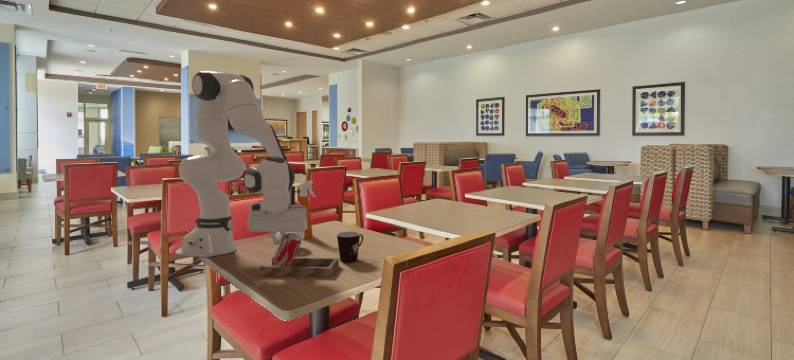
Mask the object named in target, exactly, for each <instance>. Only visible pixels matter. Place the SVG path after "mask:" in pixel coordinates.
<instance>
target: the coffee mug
mask: <svg viewBox="0 0 794 360" xmlns="http://www.w3.org/2000/svg"><path fill="white" fill-rule="evenodd" d="M360 237H361V238H360ZM336 238H337V246H338V254H339V255H338V256H339V261H340V262H341V263H344V264H351V263H355V262H357V261H359V259H358V257H359V249H360V246H362V244H363V240H364V235H363V234H362V233H360V232H359V231H353V230H352V231H350V230H349V231H341V232H338V233H336ZM360 239H361V241H360Z"/></svg>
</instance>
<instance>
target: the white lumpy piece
mask: <svg viewBox="0 0 794 360" xmlns="http://www.w3.org/2000/svg"><path fill="white" fill-rule="evenodd" d="M288 233H293V234H296V235H298V236H299V237H300V238H301V243H302V242H303V241H304V239H305V238H304V232H286V235H287V234H288ZM275 236H276V238H277V239H280V238H281V236H282V235H280V232H276V234H275ZM274 246H275V249H276V251H277V250H278V248H279V246H280V245H274Z"/></svg>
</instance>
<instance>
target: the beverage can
mask: <svg viewBox="0 0 794 360" xmlns="http://www.w3.org/2000/svg"><path fill="white" fill-rule="evenodd" d="M301 245H302V242H301V238H300V237H299V236H298V235H296V234H293V233H288V234H287V235H285V236H284V238H283V240H282V242H281V244H280V246H279V248H278V250H277V249H276V252H275V253H274V256H272V257H273V259H272V258H271V264H272V263H273V265H274V266H290V264H291V262H292V260H293V258H294V257H296V255H297V253H298V251H299V250H300V246H301Z"/></svg>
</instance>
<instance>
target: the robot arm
mask: <svg viewBox="0 0 794 360" xmlns="http://www.w3.org/2000/svg"><path fill="white" fill-rule="evenodd" d="M191 88H192V92H193V94H194V96H195V97H196V98H197V99H198V103H197V110H196V111H197V112H196V125H197V127H196V133H197V136H196V137H197V139H198V141H199V142H200V143H201V144H202V145H205V146H207V147H208V149H209V151H210V154H205V155H204V154H203V155H193V156H189V157H186V158H183V159H182V160H181V161H180V163H179V166H178V174H179V177H180V178H181V179H182V181H183V182H184V183H186V184H188V185H189V187H191V188H192V189H193V190H194V192H195V194H196V195H197V199H198V204H199V213H200V214H199V215H200V217H198V218H197V219H195V220H194V224H196V227H195V228H193V229H192V230H191V231H190V232H188V233H187V234H185V236H184V237H183V238H182V241H181V247H180V248H178V249H177V250H176V251H175V255H176V256H183V257H185V256H186V257H198V258H210V257H215V256H220V255H225V254H229V253H232V252H235V251H236V250H237V246H236V244H235V241H234V236H233V218H232V216H233V215H231V203H230V202H231V200H230V197H229V195H227V193H226V192H223V191H222V190H220V189H219V188H218V185H217V183H218V182H219V183H220V182H230V181H234V180H236V179H237V180H238V179H239V178H241V177H243V178H242V179H243V185H244V187H245V189H246V190H247V191H248V192H249V193H251V194H262V200H261V199H260V200H258V201H256V202H254V203H251V204H250V205H248V210H249V213H248V215H247V219H246V220H247V221H246V223H247V224H246V227H247V230H248V231H249V232H250V233H257V232H258V233H269V236H270V237H271V239H272V244H273V245H274V246H275V245H280V244H281V242H282V240H283V238H284V236H285V235H286V232H304V231H305V230H306V229H307V227H308V226H307V218H306V216H307V209H306V207H304V206H303V205H299V204H291V195H290V191H289V190H291V188H292V187H293V186H294V183H295V180H296V177H295V176H296V174H295V172H294V169H293V168H292V166H291V165H290V163H289V161H288V160H287V157H286V155H285V152H284V149H283V147H282V145H281V143H280V140H279V138H278V136H277V134H276V131H275V129H274V128H273V126H272V125H271V124H270V123H268V121H266V119H265V118H264V116H263V114H262V112H261V110H260V106H259V103H258V100H257V97H256V95H255V92H254V90H255V88H254V84H253V81H252V80H251V78H250V77H249V76H246V75H243V74H236V73H233V72H227V71H223V72H221V71H210V70H202V71H198V72H196V74H194V76H193V79H192V80H191ZM229 124H230V126H231V127H232V129H233V130H234V131H235V132H237V133H238V134H240V135H241V136H245V137H248V138H251V139H252V140H255V141H257V142H259V143H260V144H261V145H263V147H264V149H265V151H266V153H267V156H266V157H264V158H262V160H261V162H260V163H258V164H256V165H253V166H250V167H248V168H247V169H246V170H245V163H244V160H243V159H242V157H240V156H239V155H238V154H237V153H236V152H235V151H234V149H233V148H232V146H231V143H230V138H229ZM302 207H304V208H302ZM278 232H280V235H282V236H281V238H280V239H277V238H276V234H277V233H278Z"/></svg>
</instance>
